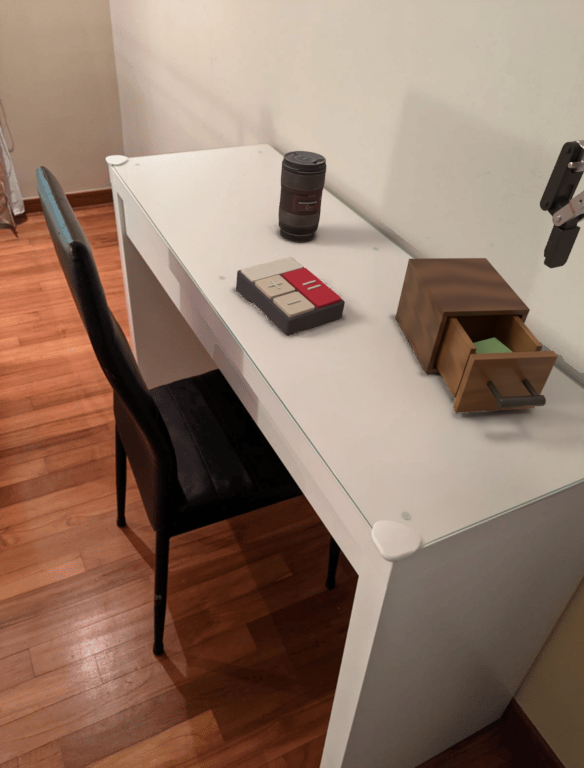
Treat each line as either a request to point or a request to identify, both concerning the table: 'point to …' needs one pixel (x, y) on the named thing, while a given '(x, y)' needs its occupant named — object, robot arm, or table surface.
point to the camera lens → (301, 195)
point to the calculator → (289, 295)
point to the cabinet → (450, 300)
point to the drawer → (493, 364)
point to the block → (490, 346)
